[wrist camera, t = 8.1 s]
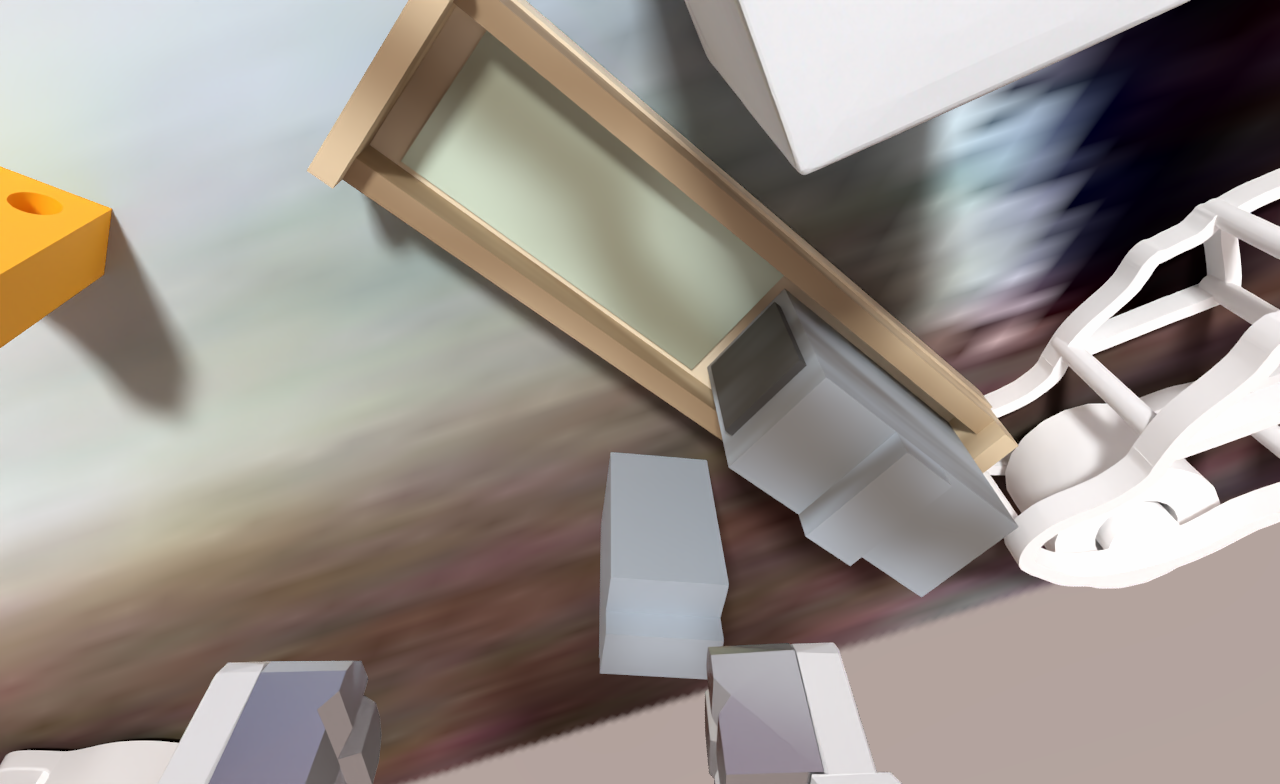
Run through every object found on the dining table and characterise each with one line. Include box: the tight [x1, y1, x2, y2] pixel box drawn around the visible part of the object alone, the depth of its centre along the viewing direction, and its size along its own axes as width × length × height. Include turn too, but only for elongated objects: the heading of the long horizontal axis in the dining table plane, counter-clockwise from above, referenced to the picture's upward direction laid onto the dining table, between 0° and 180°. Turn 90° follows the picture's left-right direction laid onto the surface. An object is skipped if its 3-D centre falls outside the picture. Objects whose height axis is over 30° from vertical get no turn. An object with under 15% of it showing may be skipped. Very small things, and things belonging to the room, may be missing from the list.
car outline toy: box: [983, 169, 1280, 588], centre depth 26 cm, size 20×11×7 cm, turn 116°
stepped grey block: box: [599, 452, 729, 679], centre depth 29 cm, size 4×4×8 cm
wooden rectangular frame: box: [307, 0, 1019, 597], centre depth 24 cm, size 7×24×8 cm, turn 51°
